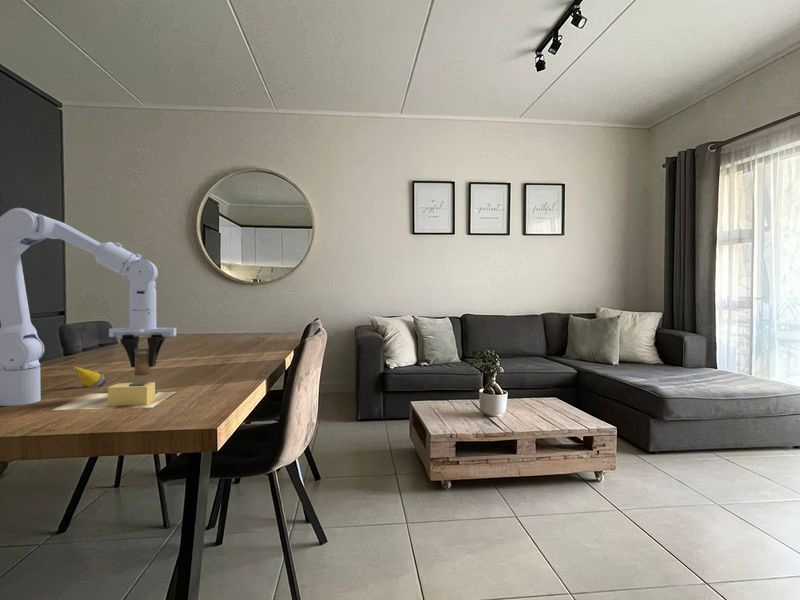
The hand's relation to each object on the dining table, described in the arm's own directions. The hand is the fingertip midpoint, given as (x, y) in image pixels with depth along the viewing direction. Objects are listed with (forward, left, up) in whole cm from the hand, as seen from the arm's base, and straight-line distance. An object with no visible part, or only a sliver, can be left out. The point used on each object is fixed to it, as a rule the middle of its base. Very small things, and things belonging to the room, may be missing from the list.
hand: (143, 366), depth 116 cm
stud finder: (0, -8, -7) cm, 11 cm away
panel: (-4, -5, -8) cm, 10 cm away
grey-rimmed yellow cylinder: (-18, +13, -8) cm, 23 cm away
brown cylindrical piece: (0, -1, -2) cm, 2 cm away
